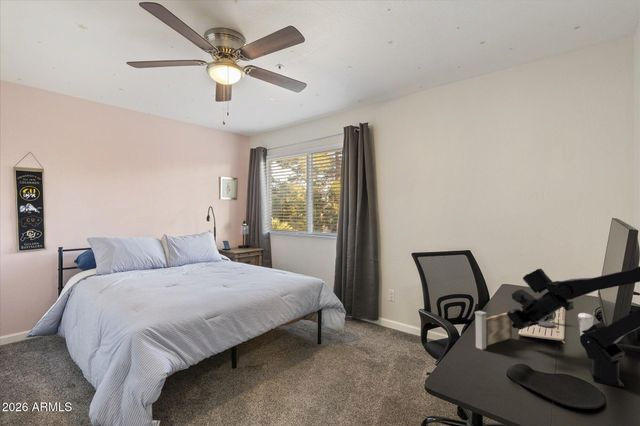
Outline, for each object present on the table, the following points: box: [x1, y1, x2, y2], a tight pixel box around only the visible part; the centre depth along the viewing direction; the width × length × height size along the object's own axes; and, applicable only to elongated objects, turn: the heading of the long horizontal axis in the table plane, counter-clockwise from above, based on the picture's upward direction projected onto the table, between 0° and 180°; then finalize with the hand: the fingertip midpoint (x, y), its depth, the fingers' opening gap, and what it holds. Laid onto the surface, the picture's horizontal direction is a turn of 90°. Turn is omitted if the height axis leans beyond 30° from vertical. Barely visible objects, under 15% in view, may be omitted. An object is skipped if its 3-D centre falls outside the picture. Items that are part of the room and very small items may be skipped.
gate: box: [486, 312, 513, 347], centre depth 115 cm, size 16×1×9 cm, turn 117°
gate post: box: [474, 310, 488, 351], centre depth 111 cm, size 3×3×13 cm
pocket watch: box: [537, 312, 557, 328], centre depth 133 cm, size 8×8×10 cm
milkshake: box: [577, 311, 596, 337], centre depth 119 cm, size 5×5×10 cm
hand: (513, 326), depth 113 cm, fingers closed
